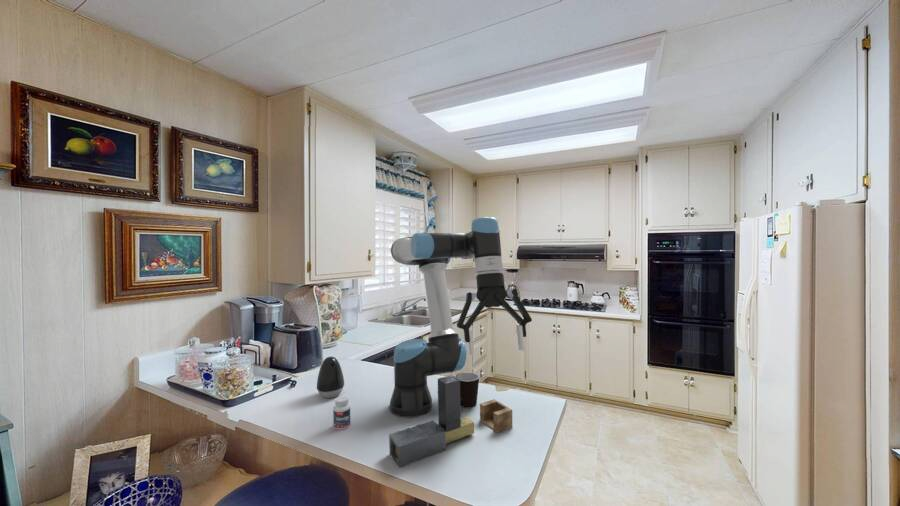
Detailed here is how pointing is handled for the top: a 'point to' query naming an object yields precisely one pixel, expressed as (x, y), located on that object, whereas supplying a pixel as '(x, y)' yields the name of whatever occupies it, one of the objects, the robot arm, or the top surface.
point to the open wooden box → (496, 415)
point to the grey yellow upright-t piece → (451, 410)
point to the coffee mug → (468, 389)
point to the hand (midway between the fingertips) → (497, 352)
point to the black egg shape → (330, 378)
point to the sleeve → (417, 443)
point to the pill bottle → (341, 413)
